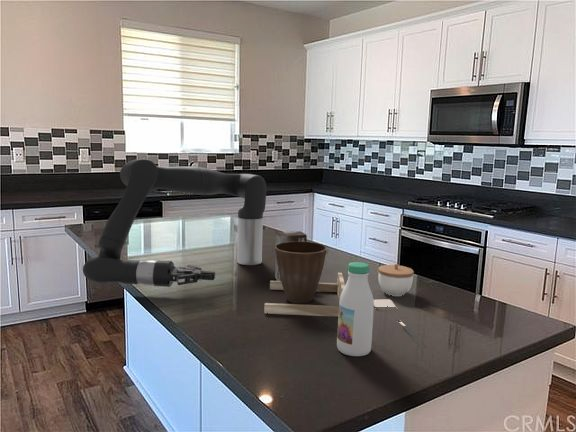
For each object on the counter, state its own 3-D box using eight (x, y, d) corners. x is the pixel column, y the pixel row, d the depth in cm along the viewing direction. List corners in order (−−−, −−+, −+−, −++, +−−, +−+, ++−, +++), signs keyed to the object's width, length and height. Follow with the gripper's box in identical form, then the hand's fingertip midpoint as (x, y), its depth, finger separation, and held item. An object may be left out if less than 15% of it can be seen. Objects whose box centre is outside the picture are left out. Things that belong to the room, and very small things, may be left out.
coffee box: (300, 276, 158) (302, 230, 156) (306, 282, 152) (307, 234, 150) (274, 277, 156) (275, 231, 153) (279, 283, 150) (280, 235, 147)
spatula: (390, 304, 136) (390, 299, 136) (436, 348, 107) (436, 342, 107) (370, 304, 135) (370, 299, 135) (411, 349, 106) (412, 343, 106)
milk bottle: (367, 342, 108) (372, 259, 105) (374, 357, 101) (380, 269, 97) (334, 341, 108) (338, 259, 105) (339, 357, 100) (344, 268, 97)
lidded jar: (370, 289, 147) (372, 260, 146) (399, 286, 151) (401, 258, 150) (389, 300, 137) (391, 270, 136) (419, 297, 141) (421, 267, 140)
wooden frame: (270, 288, 145) (270, 269, 144) (340, 291, 144) (341, 272, 143) (264, 313, 124) (264, 292, 123) (346, 317, 123) (348, 295, 122)
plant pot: (274, 308, 128) (276, 252, 125) (272, 290, 143) (274, 240, 140) (327, 309, 129) (330, 253, 126) (320, 291, 144) (323, 241, 141)
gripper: (148, 266, 127) (210, 269, 127) (162, 255, 140) (219, 257, 140) (148, 292, 128) (210, 295, 128) (162, 278, 141) (218, 281, 141)
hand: (214, 275), depth 134 cm, fingers closed
